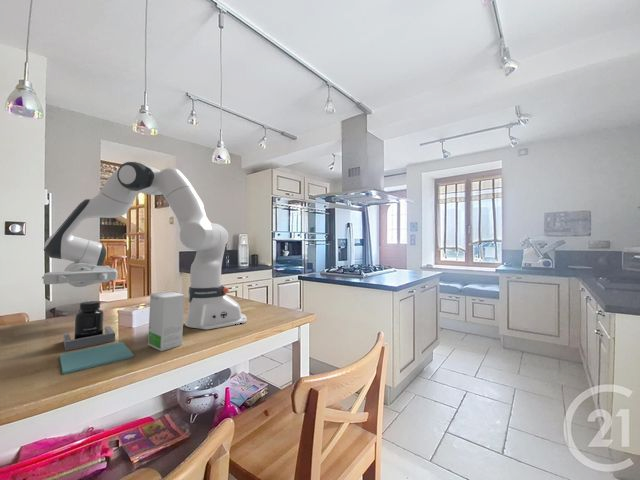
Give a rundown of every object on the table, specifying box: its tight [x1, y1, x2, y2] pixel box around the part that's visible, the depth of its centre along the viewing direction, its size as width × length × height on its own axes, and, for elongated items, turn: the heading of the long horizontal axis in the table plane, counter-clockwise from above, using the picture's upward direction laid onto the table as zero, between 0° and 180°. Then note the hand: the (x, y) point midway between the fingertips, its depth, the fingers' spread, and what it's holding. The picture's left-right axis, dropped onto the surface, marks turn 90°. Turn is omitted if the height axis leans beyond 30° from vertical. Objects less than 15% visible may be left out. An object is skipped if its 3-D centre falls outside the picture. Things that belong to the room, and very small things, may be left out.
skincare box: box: [147, 290, 185, 352], centre depth 83 cm, size 8×7×16 cm
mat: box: [59, 341, 135, 375], centre depth 74 cm, size 14×14×1 cm
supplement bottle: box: [73, 300, 104, 340], centre depth 86 cm, size 7×7×12 cm
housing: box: [62, 325, 116, 352], centre depth 85 cm, size 10×11×2 cm
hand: (84, 278), depth 94 cm, fingers open, 8 cm apart
